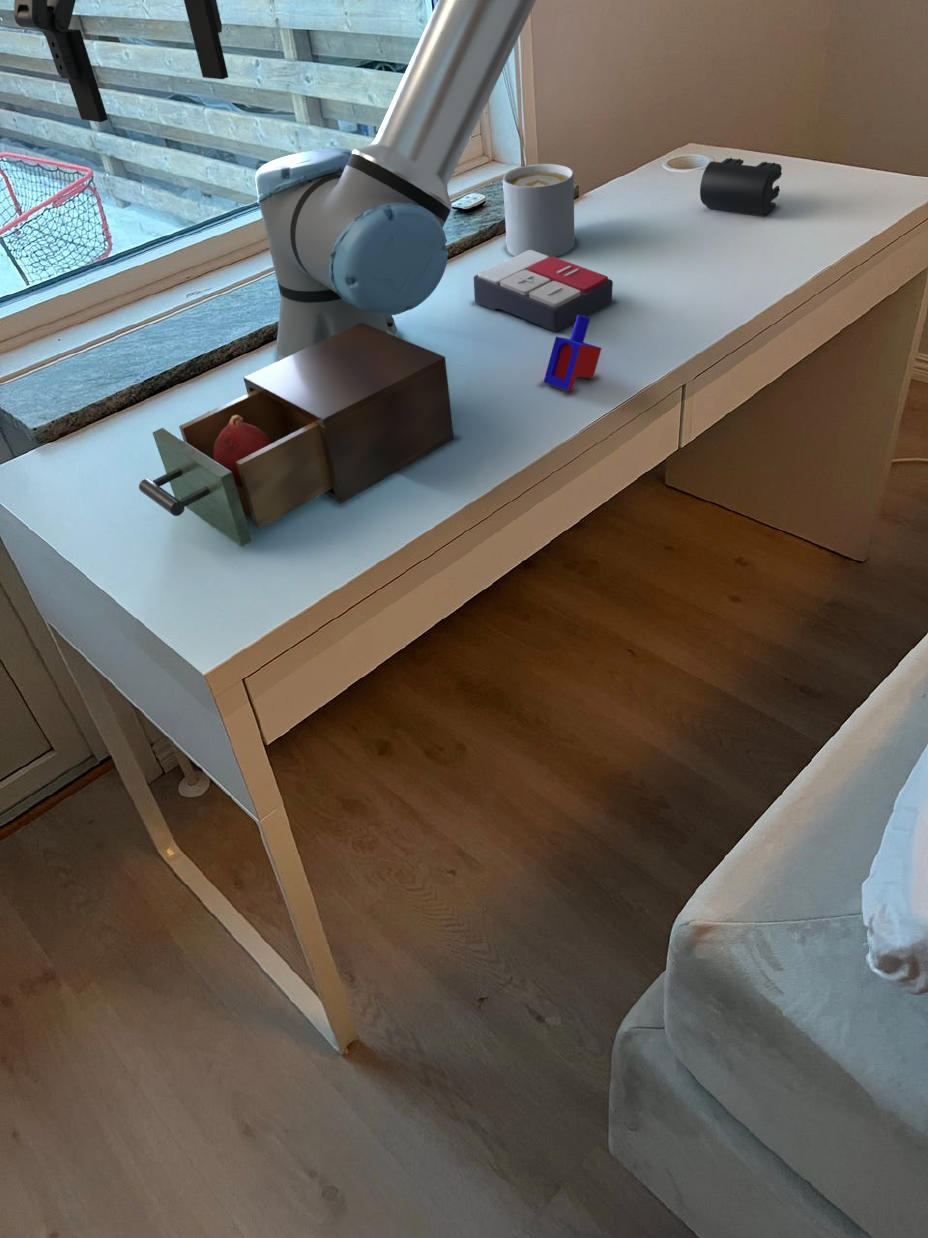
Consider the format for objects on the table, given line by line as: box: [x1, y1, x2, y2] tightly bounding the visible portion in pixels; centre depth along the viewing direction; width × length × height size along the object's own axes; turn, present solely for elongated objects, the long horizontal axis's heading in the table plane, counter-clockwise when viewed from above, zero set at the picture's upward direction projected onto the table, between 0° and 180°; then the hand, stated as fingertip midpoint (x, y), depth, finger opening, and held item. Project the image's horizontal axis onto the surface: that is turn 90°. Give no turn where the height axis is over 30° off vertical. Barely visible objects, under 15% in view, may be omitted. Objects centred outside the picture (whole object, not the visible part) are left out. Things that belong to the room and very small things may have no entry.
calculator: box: [473, 250, 614, 333], centre depth 126 cm, size 11×4×15 cm
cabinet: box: [242, 323, 455, 504], centre depth 101 cm, size 16×14×10 cm
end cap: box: [699, 157, 783, 217], centre depth 143 cm, size 10×7×7 cm
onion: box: [213, 415, 272, 487], centre depth 93 cm, size 6×6×8 cm
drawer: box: [138, 390, 333, 548], centre depth 94 cm, size 19×12×8 cm, turn 133°
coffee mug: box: [502, 163, 575, 258], centre depth 139 cm, size 13×10×10 cm
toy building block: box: [543, 315, 602, 392], centre depth 109 cm, size 4×4×8 cm
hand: (158, 97), depth 84 cm, fingers open, 13 cm apart
